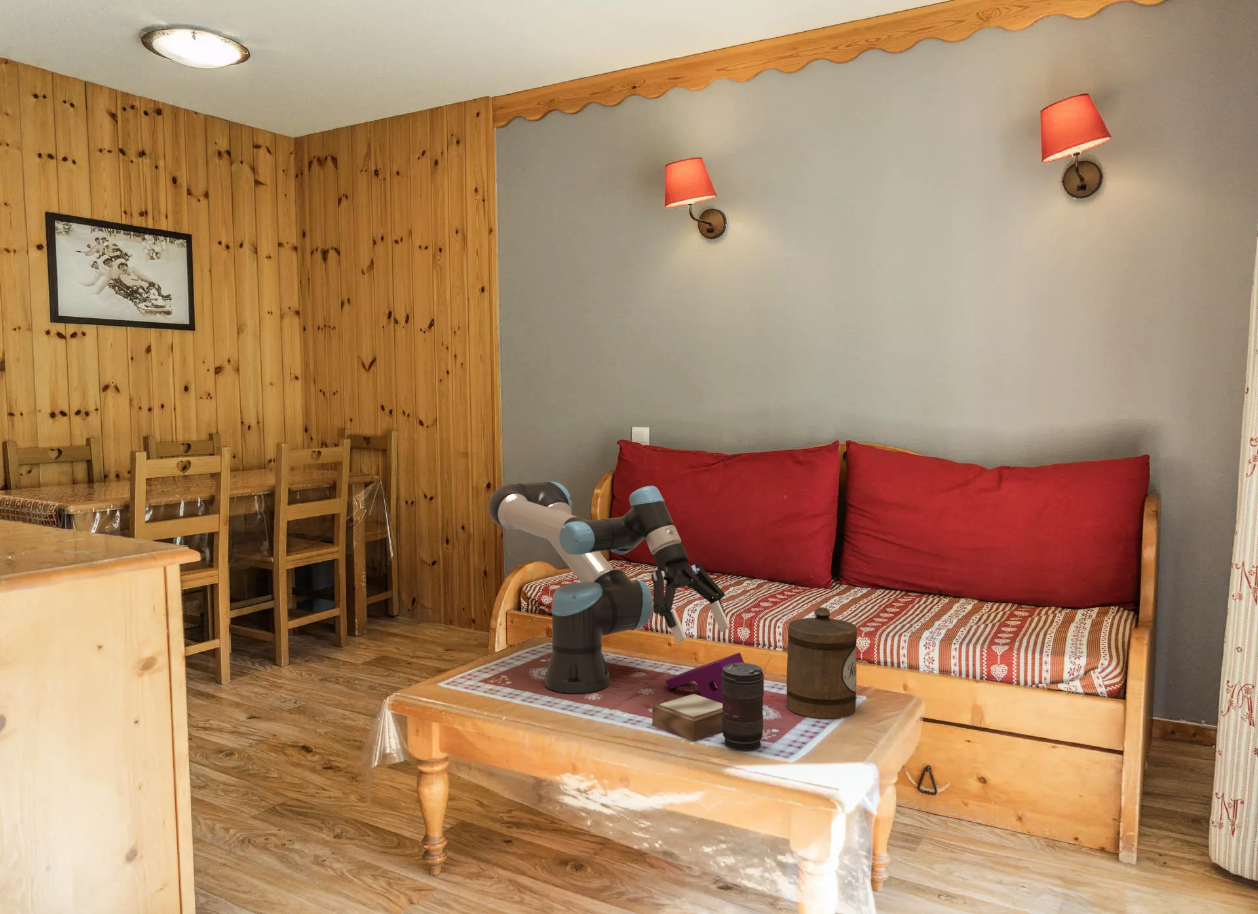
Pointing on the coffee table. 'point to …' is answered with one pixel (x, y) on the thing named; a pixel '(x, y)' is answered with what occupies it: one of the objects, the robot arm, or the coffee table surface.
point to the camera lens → (742, 705)
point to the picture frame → (689, 717)
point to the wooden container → (821, 666)
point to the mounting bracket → (706, 677)
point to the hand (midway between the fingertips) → (704, 635)
